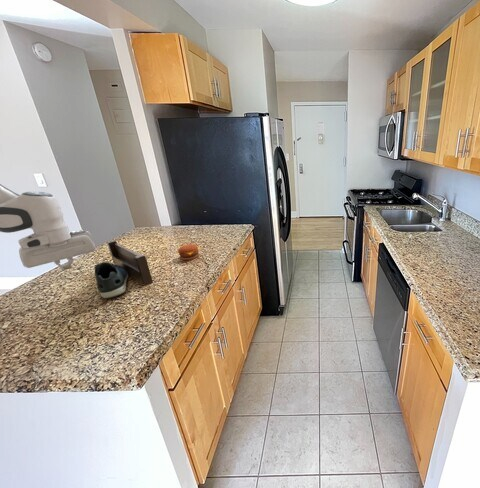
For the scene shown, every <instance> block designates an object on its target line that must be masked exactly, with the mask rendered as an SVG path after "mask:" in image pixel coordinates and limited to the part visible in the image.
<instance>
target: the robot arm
mask: <svg viewBox="0 0 480 488" xmlns="http://www.w3.org/2000/svg"><path fill="white" fill-rule="evenodd" d="M63 213H64V212H63V211H62V208H61V206H60V204H59V202H58V200H57V198H56V197H55V196H54V195H53V194H51V193H49V192H45V191H25V192H21V194H19V193H17V192H14V191H13V190H11V189H9V188H7V187H6V186H4V185H2V184H1V183H0V233H6V234H10V233H17V232H20V231H24V230H29V229H31V230H32V231H33V233H31V234H29V235H27V236H25V237H22V238H20V239H18V245H19V246H20V247H19V249H18V253H19V259H20V262H21V264H22V266H23V267H24V268H26V269H30V268H35V267H38V266H39V267H40V266H42V265H47V264H50V263H53V264H55V265H56V266H58V267H59V268H60V270H61V271H62V272H63V271H67V270H71V269H73V265H72V264H73V261H74V257H78V256H81V255H85V254H90V253H94V252H95V251H96V246H95V243H94V241H93V240H92V238H93V236H92V232H90V231H89V230H85V229H81V230H77V231H71V232H70V230H69V227H68V224H67V223H66V222H65V220H64V214H63ZM63 260H67V263H65V264H61V261H63Z"/></svg>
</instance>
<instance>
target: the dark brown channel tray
mask: <svg viewBox="0 0 480 488" xmlns="http://www.w3.org/2000/svg"><path fill="white" fill-rule="evenodd" d="M106 245H107V247H108V250H109V253H110V255H111V258H112V263H113V264H114V265H118V266H121V267H123V268H125V270H126V271H127V273H128V277H131V278H132V279H134V280H136V281H137V282H139V283H141V284H142V285H144V286H147V285H151V284H152V283H154V281H153V277H152V274H151V271H150V267H149V264H148V260H147V257H146V255H145V254H140V253H138V252H136V251H134V250H131V249H130V248H127V247H125V246H124V245H122V244H120V243H118V241H117V240H115V239H114V240H110V241H107V242H106Z"/></svg>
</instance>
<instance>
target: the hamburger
mask: <svg viewBox="0 0 480 488" xmlns="http://www.w3.org/2000/svg"><path fill="white" fill-rule="evenodd" d="M200 249H202V247H200V246H198V245H196V244H192V243H189V244H185V245H181V246H180V247H179V248H178V250H177V251H176V252H175V254H178V255H179V259H180V260H181V261H192V260H195V259H198V258H199V257H200V253H199V250H200Z"/></svg>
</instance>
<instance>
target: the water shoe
mask: <svg viewBox="0 0 480 488" xmlns="http://www.w3.org/2000/svg"><path fill="white" fill-rule="evenodd" d="M94 277H95V282H96V286H97V289H98V291H99V294H100V297H102V298H103V299H105V300H106V299H108V300H109V299H113V298H116V297H119V296H122V295H123V294H124V293H126V290H127V281H128V279H129V275H128V273H127V271H126V270H125V268H123V267H121V266H118V265H114V262H111V261H103V262H100V263H97V264H96V265H95V266H94Z"/></svg>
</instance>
